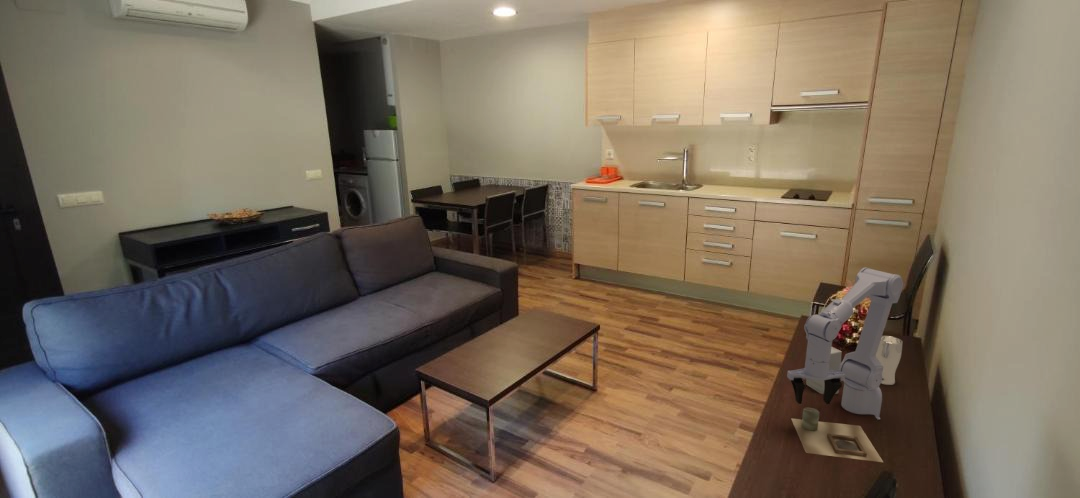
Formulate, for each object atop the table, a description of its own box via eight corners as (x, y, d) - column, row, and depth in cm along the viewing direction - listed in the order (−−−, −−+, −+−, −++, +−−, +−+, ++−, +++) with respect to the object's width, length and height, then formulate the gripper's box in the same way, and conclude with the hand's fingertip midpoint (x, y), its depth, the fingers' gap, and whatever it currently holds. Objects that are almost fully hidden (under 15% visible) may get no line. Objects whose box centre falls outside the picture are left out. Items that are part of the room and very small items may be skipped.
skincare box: (838, 394, 158) (844, 351, 154) (822, 396, 156) (828, 354, 153) (818, 381, 166) (823, 341, 162) (803, 383, 164) (808, 343, 161)
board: (859, 429, 139) (860, 422, 139) (883, 466, 124) (884, 458, 124) (790, 421, 144) (791, 415, 143) (805, 456, 129) (806, 449, 128)
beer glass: (874, 383, 163) (880, 342, 160) (869, 374, 170) (875, 334, 166) (899, 387, 161) (906, 345, 157) (893, 377, 167) (900, 336, 163)
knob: (815, 423, 141) (817, 407, 139) (819, 431, 137) (821, 415, 136) (799, 422, 142) (801, 406, 140) (803, 430, 138) (805, 413, 137)
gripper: (837, 351, 137) (831, 394, 141) (784, 351, 138) (779, 394, 142) (851, 363, 131) (845, 408, 134) (795, 362, 132) (790, 407, 135)
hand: (812, 402), depth 137 cm, fingers open, 7 cm apart
